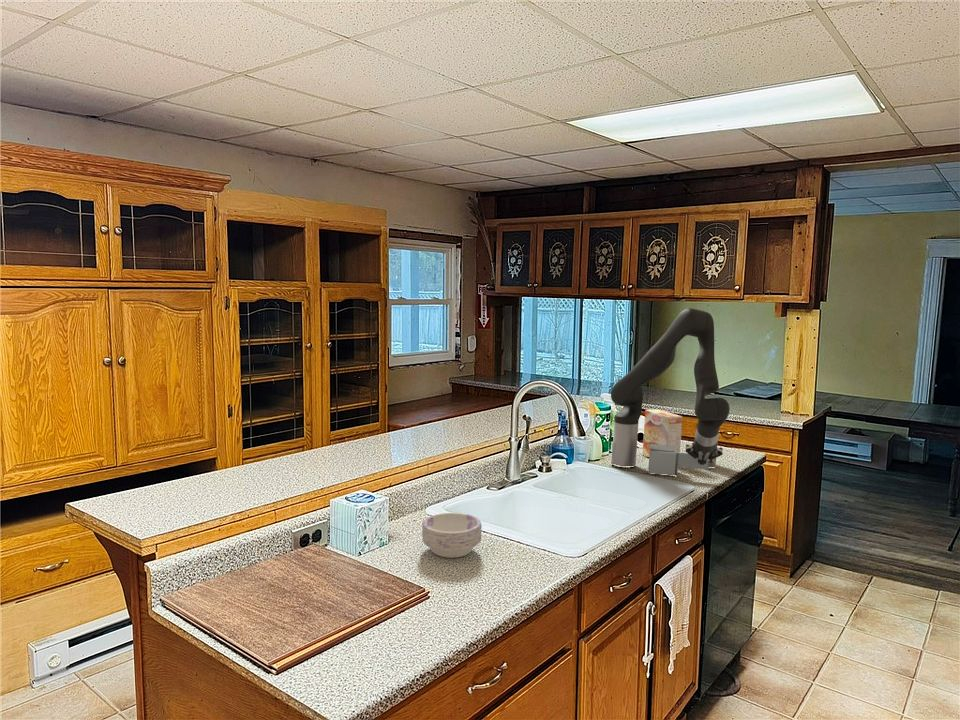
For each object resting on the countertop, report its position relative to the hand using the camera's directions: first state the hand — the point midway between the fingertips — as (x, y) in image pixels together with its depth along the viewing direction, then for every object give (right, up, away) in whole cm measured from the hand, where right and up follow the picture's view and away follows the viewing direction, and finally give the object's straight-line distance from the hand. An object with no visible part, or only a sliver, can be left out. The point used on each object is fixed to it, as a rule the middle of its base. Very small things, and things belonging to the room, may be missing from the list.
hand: (701, 462), depth 241 cm
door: (-8, -6, +6) cm, 12 cm away
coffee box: (+9, -5, +25) cm, 27 cm away
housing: (-11, -6, +13) cm, 18 cm away
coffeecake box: (-7, -4, +31) cm, 32 cm away
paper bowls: (-87, -13, -69) cm, 112 cm away
